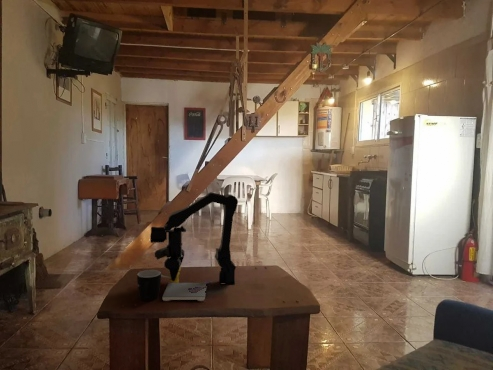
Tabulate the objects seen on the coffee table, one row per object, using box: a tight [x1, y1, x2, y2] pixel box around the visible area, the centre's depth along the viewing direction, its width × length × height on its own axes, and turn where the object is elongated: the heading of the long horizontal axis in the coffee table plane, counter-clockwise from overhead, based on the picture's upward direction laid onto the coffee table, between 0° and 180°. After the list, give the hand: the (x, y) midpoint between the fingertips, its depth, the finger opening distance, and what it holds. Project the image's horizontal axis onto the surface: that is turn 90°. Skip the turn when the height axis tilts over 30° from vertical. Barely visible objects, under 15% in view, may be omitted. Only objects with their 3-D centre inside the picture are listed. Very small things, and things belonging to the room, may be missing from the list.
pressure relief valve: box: [161, 266, 182, 283], centre depth 159 cm, size 6×12×10 cm, turn 70°
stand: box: [162, 282, 207, 302], centre depth 147 cm, size 16×15×2 cm
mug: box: [136, 269, 162, 302], centre depth 140 cm, size 12×9×10 cm
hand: (174, 277), depth 157 cm, fingers open, 9 cm apart
